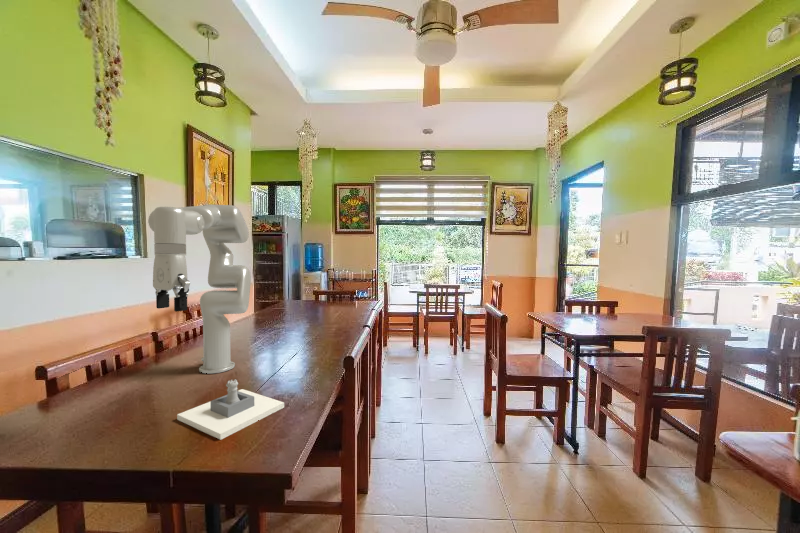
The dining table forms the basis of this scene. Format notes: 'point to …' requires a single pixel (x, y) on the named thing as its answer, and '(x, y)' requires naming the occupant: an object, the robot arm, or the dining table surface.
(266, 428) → the dining table surface
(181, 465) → the dining table surface
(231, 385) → the rook chess piece
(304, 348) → the dining table surface
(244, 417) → the socket board
